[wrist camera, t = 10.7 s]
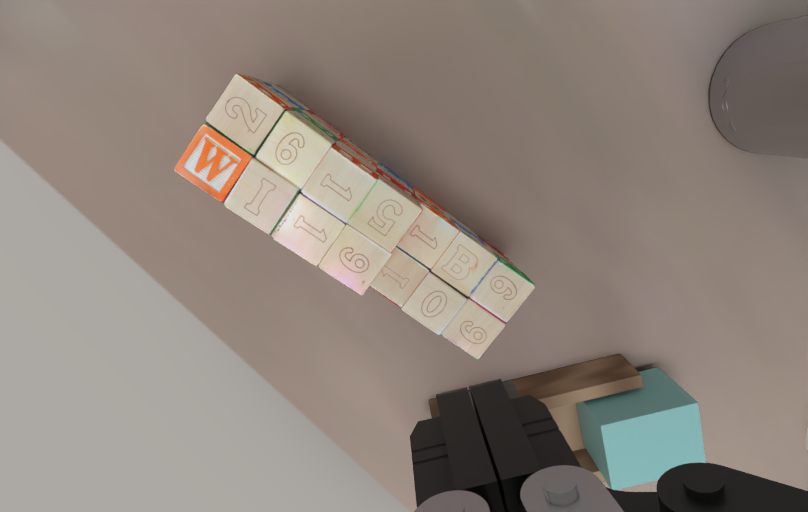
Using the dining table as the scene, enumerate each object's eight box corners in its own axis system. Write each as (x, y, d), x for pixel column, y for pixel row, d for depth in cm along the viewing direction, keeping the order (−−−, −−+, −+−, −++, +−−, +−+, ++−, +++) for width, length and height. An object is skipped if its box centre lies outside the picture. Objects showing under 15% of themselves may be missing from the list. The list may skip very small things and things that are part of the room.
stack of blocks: (506, 253, 46) (552, 303, 34) (457, 316, 47) (485, 385, 35) (275, 82, 42) (234, 69, 30) (227, 154, 43) (169, 169, 31)
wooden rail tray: (619, 353, 48) (663, 396, 41) (634, 441, 50) (678, 497, 42) (428, 399, 48) (437, 450, 41) (450, 485, 50) (462, 548, 43)
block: (658, 367, 47) (697, 402, 41) (667, 425, 48) (706, 468, 43) (573, 387, 47) (600, 425, 41) (584, 445, 49) (612, 490, 43)
